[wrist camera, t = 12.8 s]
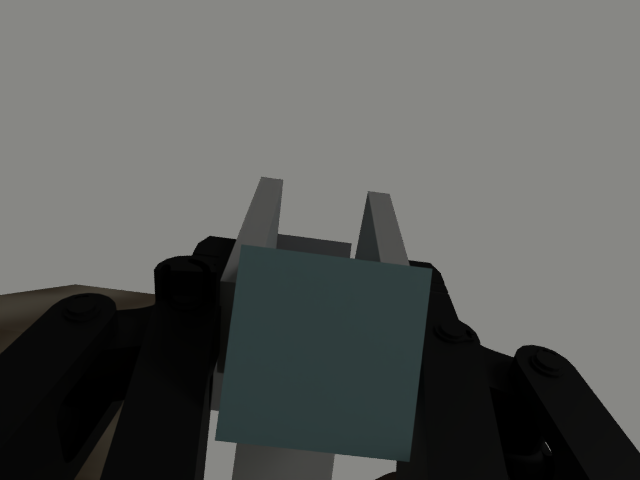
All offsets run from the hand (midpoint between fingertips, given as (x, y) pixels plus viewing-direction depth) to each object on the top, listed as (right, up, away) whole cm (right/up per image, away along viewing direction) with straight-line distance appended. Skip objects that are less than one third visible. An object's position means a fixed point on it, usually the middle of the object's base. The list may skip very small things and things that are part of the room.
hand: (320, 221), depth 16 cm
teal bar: (-1, -4, +3) cm, 5 cm away
